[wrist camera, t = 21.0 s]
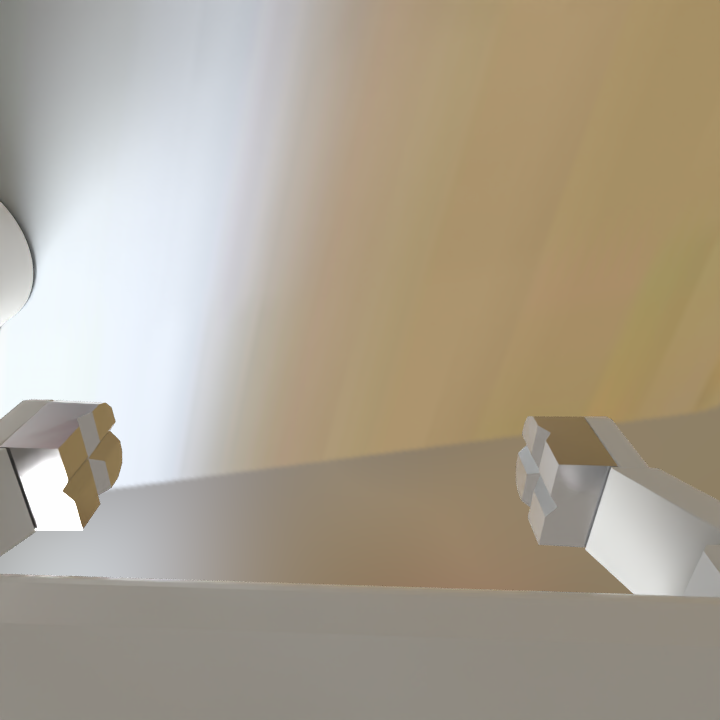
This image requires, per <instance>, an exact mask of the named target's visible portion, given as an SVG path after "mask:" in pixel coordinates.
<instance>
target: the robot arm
mask: <svg viewBox="0 0 720 720" xmlns="http://www.w3.org/2000/svg"><path fill="white" fill-rule="evenodd" d="M32 284H33V263H32V258H31V253H30V250H29V247H28V244H27V241H26V239H25V237H24V235H23V233H22V231H21V229H20V227H19V225H18V224H17V222H16V220H15V219H14V218H13V216H12V215H11V213H10V212H9V211H8V209H7V208H6V207H5V206H4V205H3V204H2V203H1V202H0V327H1V326H2V325H3V324H4V323H5V322H7V321H8V320H9V319H11V318H12V317H14V316H15V315H16V314H17V313H18V312H19V311H20V310H21V309H22V308H23V306H24V305H25V303H26V302H27V300H28V298H29V295H30V292H31V289H32ZM114 424H115V418H114V415H113V411H112V407H110V406H109V405H108V404H107V403H102V402H82V401H63V400H55V401H54V400H38V399H31V400H24V401H22V402H21V403H19V404H18V405H17V406H16V407H15V408H13V409H12V410H11V411H10V412H9V413H7V414H6V415H5V416H4V417H3V418H1V419H0V556H2V555H3V554H5V553H6V552H8V551H9V550H11V549H12V548H13V547H15V546H16V545H18V544H19V543H21V542H22V541H24V540H25V539H26V538H28V537H29V536H31V535H32V534H33V533H35V530H83V529H84V527H85V526H86V524H87V523H88V521H89V520H90V518H91V517H92V516H93V514H94V512H95V511H96V510H97V508H98V507H99V505H100V501H99V497H98V495H100V494H102V493H103V492H105V491H107V490H108V489H110V488H112V486H113V485H114V483H115V481H116V480H117V478H118V476H119V473H120V469H121V465H122V448H121V444H120V440H119V439H118V438H117V437H116V436H114V435H113V434H112V433H111V432H110V430H111V428H112V427H113V425H114ZM522 435H523V438H524V440H525V442H526V444H527V445H526V446H525V447H524V448H523V449H522V450H521V451H520V452H519V453H518V458H517V464H516V483H517V488H518V492H519V495H520V498H521V501H523V502H524V503H525V504H527V505H528V506H529V507H530V511H529V515H528V519H529V522H530V524H531V527H532V529H533V532H534V534H535V537H536V539H537V542H538V544H539V545H553V546H570V547H586V551H588V552H589V553H590V554H591V555H592V556H593V557H594V558H595V559H596V560H597V561H598V562H600V563H601V564H602V565H603V566H604V567H605V568H606V569H607V570H608V571H609V572H611V573H612V574H613V575H614V576H615V577H616V578H617V579H618V580H619V581H620V582H621V583H622V584H624V585H625V586H626V587H627V588H628V589H629V590H630V591H631V592H632V593H633V594H608V593H578V592H547V591H515V590H485V589H453V588H422V587H392V586H361V585H330V584H329V585H327V584H298V583H268V582H267V583H266V582H239V581H209V580H207V581H206V580H178V579H148V578H117V577H116V578H115V577H86V576H85V577H84V576H55V575H53V576H52V575H23V574H0V720H720V501H719V500H717V499H715V498H713V497H711V496H709V495H707V494H706V493H703V492H702V491H700V490H698V489H696V488H694V487H692V486H690V485H689V484H687V483H685V482H683V481H681V480H679V479H677V478H675V477H674V476H672V475H670V474H668V473H666V472H664V471H662V470H660V469H658V468H649V466H648V465H647V464H646V463H645V461H644V460H643V459H642V458H641V456H640V455H639V454H638V452H637V451H636V450H635V449H634V447H633V446H632V445H631V443H630V442H629V441H628V440H627V438H626V437H625V436H624V434H623V433H622V432H621V431H620V430H619V428H618V427H617V425H616V424H615V423H614V422H613V420H612V419H610V418H608V417H606V416H599V417H527V419H526V421H525V423H524V428H523V432H522Z"/></svg>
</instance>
